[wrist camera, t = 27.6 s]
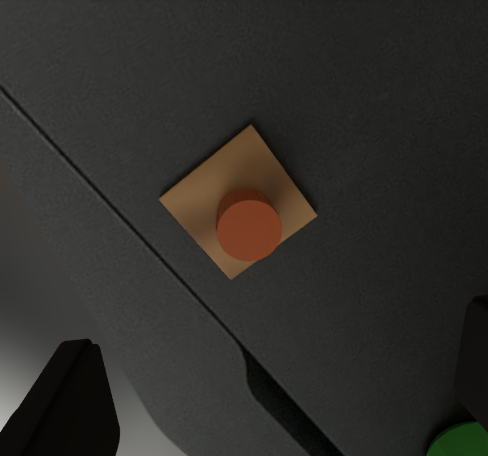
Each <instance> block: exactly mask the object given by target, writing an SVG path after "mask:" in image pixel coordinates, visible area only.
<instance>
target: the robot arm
mask: <svg viewBox="0 0 488 456" xmlns="http://www.w3.org/2000/svg"><path fill="white" fill-rule="evenodd" d="M454 391H455V394H456V396H457V398H458V399H459V400H460V402H461V403H462V404H463V405H464V406H465V407H466V409H467V410H468V411H469V412H470V413H471V414H472V415H473V417H474V418H475V419H476V420H477V421H478V422H479V424H480V425H481V426H482V427H483V428H484V429H485V430H486V432H487V433H488V295H479V296H476V297H474V298H473V299H472V301H471V303H469V304H468V305H467V308H466V314H465V320H464V326H463V332H462V337H461V343H460V349H459V355H458V361H457V367H456V372H455V378H454ZM119 439H120V427H119V423H118V419H117V415H116V411H115V407H114V403H113V399H112V394H111V390H110V386H109V382H108V378H107V375H106V370H105V366H104V362H103V358H102V354H101V350H100V347H99V345H98V344H92V342H91V340H89V339H81V340H71V341H64V342H62V343H61V344H60V346H59V347H58V348H57V350H56V351H55V353H54V354H53V356H52V357H51V359H50V360H49V362H48V363H47V365H46V366H45V368H44V369H43V371H42V373H41V374H40V376H39V377H38V379H37V380H36V382H35V383H34V385H33V386H32V388H31V389H30V391H29V392H28V394H27V395H26V397H25V398H24V400H23V401H22V403H21V404H20V406H19V407H18V409H17V410H16V411H15V412H14V413H13V414H12V416H11V417H10V418H9V420H8V421H7V423H6V424H5V426H4V427H3V429H2V430H1V432H0V456H116V452H117V449H118V445H119Z"/></svg>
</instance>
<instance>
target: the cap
mask: <svg viewBox="0 0 488 456" xmlns="http://www.w3.org/2000/svg"><path fill="white" fill-rule="evenodd" d="M216 231H217V237H218V241H219V244H220V245H221V247H222V249H223V250H224V251H225V252H226V253H227V254H228V255H229V256H231V257H232V258H235V259H237V260H240V261H247V262H250V261H257V260H260V259H262V258H265V257H266V256H268V255H269V254H270V253H272V252H273V251H274V250H275V248H276V247H277V245H278V244H279V242H280V239H281V235H282V224H281V220H280V218H279V214H278V213H277V211H276V210H275V208H274V207H273V205H272V204H271V203H270V201H269V200H268V199H267V197H266V196H264V195H263V194H261V193H259V192H257V191H256V190H251V189H241V190H237V191H234V192H232V193H230V194H229V195H227V196H226V197H225V198H223V200H222V202H221V203H220V205H219V207H218V208H217V215H216Z"/></svg>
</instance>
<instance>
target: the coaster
mask: <svg viewBox="0 0 488 456" xmlns="http://www.w3.org/2000/svg"><path fill="white" fill-rule="evenodd" d="M241 189H251V190H256V191H257V192H259V193H261V194H263V195H264V196H266V197H267V199H268V200H269V201H270V203H271V204H272V205H273V207H274V208H275V210H276V211H277V213H278V214H279V218H280V220H281V224H282V235H281V239H280V242H279V244H280V243H281V242H283V241H284V240H286V239H287V238H288V237H290V236H291V235H292V234H294V233H295V232H296V231H298V230H299V229H300V228H302V227H303V226H304V225H306V224H307V223H308V222H310V221H311V220H313V219H314V218H315V217H317V214H316V213H315V211H314V210H313V209H312V207H311V206H310V205H309V203H308V202H307V200H306V199H305V198H304V196H303V195H302V193H301V192H300V191H299V189H298V188H297V187H296V185H295V184H294V182H293V181H292V180H291V178H290V177H289V176H288V174H287V173H286V171H285V170H284V169H283V167H282V166H281V164H280V163H279V162H278V160H277V159H276V158H275V156H274V155H273V153H272V152H271V151H270V149H269V148H268V147H267V145H266V144H265V142H264V141H263V140H262V138H261V137H260V135H259V134H258V133H257V131H256V130H255V129H254V127H253V126H252V125H251V124H250V125H249V126H248V127H246V128H245V129H244V130H243V131H241V132H240V133H239V134H238V135H236V136H235V137H234V138H233V139H231V140H230V141H229V142H228V143H226V144H225V145H224V146H223V147H221V148H220V149H219V150H218V151H217V152H215V153H214V154H213V155H212V156H210V157H209V158H208V159H207V160H205V161H204V162H203V163H202V164H200V165H199V166H198V167H197V168H195V169H194V170H193V171H192V172H190V173H189V174H188V175H187V176H186V177H184V178H183V179H182V180H181V181H179V182H178V183H177V184H176V185H174V186H173V187H172V188H171V189H169V190H168V191H167V192H166V193H164V194H163V195H162V196H161V197H160V198H159V201H160V202H161V203H162V204H163V205H164V206H165V207H166V208H167V209H168V211H169V212H170V213H171V214H172V215H173V216H174V217H175V218H176V219H177V221H178V222H179V223H180V224H181V225H182V226H183V227H184V228H185V230H186V231H187V232H188V233H189V234H190V235H191V236H192V237H193V238H194V240H195V241H196V242H197V243H198V244H199V245H200V246H201V247H202V248H203V250H204V251H205V252H206V253H207V254H208V255H209V256H210V257H211V258H212V260H213V261H214V262H215V263H216V264H217V265H218V266H219V267H220V268H221V270H222V271H223V272H224V273H225V274H226V275H227V276H228V277H229V279H230V280H232V279H233V278H234V277H236V276H237V275H238V274H240V273H241V272H242V271H244V270H245V269H246V268H248V267H249V266H250V265H252V264H253V263H254V262H256V261H250V262H247V261H240V260H237V259H235V258H232V257H231V256H229V255H228V254H227V253H226V252H225V251H224V250H223V249H222V247H221V245H220V244H219V241H218V237H217V231H216V215H217V208H218V207H219V205H220V203H221V202H222V200H223V198H225V197H226V196H227V195H229V194H230V193H232V192H234V191H237V190H241ZM279 244H278V245H279Z"/></svg>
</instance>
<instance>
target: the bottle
mask: <svg viewBox="0 0 488 456" xmlns="http://www.w3.org/2000/svg"><path fill="white" fill-rule="evenodd" d="M426 456H488V433H487V432H486V430H485V429H484V428H483V427H482V426H481V425H480V424H479V422H472V421H470V422H463V423H458V424H455V425H453V426H451V427H448V428H446V429H445V430H444V431H442V432H441V433H440V434H438V435H437V436H436V437H435V439H434V440H433V441H432V443H431V444H430V446H429V449H428V452H427V455H426Z"/></svg>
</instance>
